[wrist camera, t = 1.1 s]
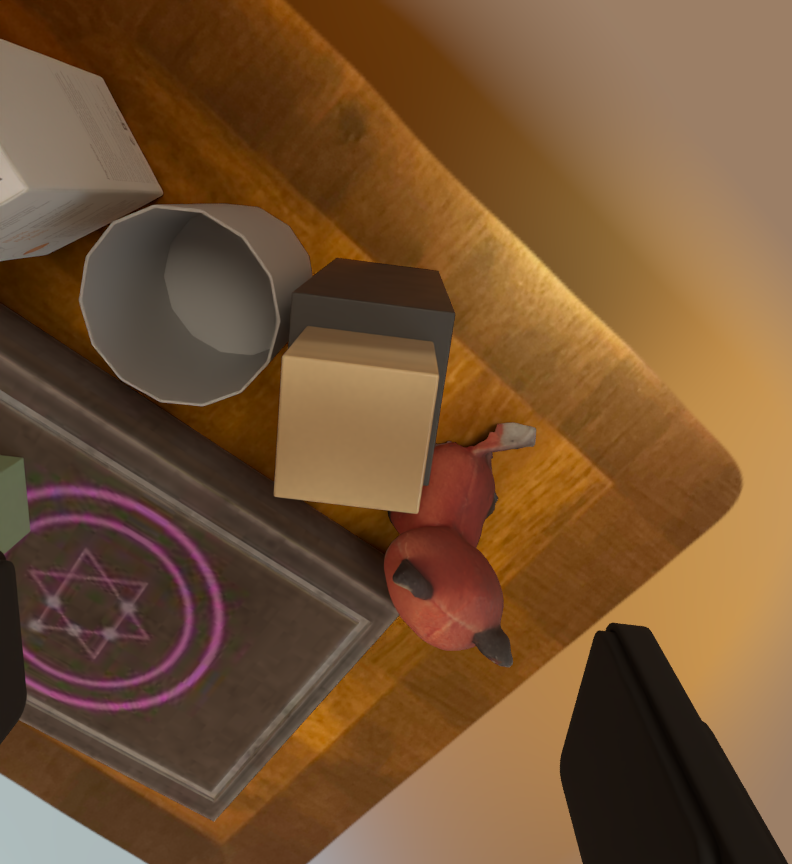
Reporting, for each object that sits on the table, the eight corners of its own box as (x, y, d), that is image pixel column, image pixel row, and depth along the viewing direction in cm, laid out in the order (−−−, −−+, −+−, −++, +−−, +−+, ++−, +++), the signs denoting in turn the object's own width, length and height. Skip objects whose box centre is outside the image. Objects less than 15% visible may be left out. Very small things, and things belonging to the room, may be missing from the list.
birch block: (306, 325, 22) (281, 354, 18) (434, 341, 23) (439, 374, 18) (297, 444, 24) (272, 497, 20) (416, 459, 24) (418, 515, 20)
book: (-153, 551, 43) (-223, 595, 38) (-19, 281, 36) (-83, 292, 31) (233, 762, 48) (213, 822, 44) (407, 561, 42) (407, 606, 37)
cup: (341, 258, 35) (315, 279, 26) (272, 379, 38) (227, 439, 28) (204, 173, 34) (125, 162, 24) (143, 305, 36) (49, 341, 27)
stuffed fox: (567, 443, 39) (631, 543, 27) (459, 572, 42) (477, 708, 31) (467, 376, 37) (492, 452, 26) (364, 514, 41) (347, 635, 29)
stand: (335, 257, 35) (291, 291, 22) (438, 270, 35) (455, 312, 22) (325, 374, 38) (280, 468, 24) (422, 386, 38) (428, 486, 25)
